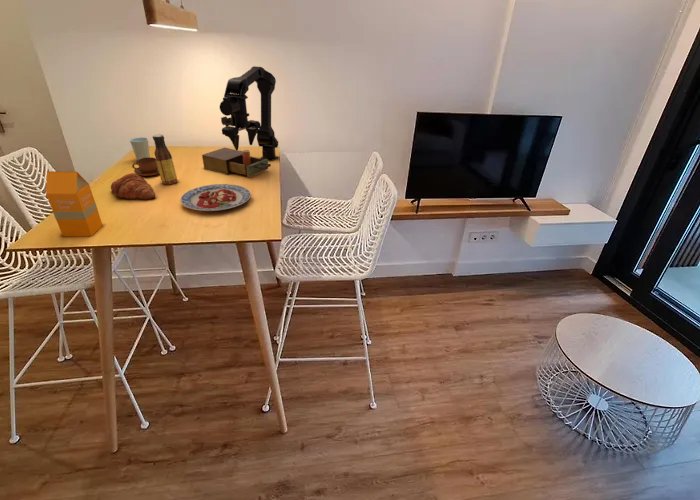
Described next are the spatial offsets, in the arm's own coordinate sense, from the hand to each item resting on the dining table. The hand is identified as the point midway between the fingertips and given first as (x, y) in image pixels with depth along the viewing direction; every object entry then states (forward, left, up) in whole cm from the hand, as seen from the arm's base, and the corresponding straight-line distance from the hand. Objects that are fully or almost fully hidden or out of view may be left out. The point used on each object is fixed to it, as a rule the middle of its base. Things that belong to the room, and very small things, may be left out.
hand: (244, 147), depth 171 cm
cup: (+15, -51, -12) cm, 55 cm away
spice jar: (0, +1, -10) cm, 10 cm away
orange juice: (+72, -6, -12) cm, 73 cm away
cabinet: (0, -12, -12) cm, 17 cm away
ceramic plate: (+32, +13, -12) cm, 36 cm away
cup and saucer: (+25, -34, -12) cm, 44 cm away
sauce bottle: (+28, -18, -12) cm, 35 cm away
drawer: (0, +3, -11) cm, 11 cm away
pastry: (+44, -19, -12) cm, 49 cm away
